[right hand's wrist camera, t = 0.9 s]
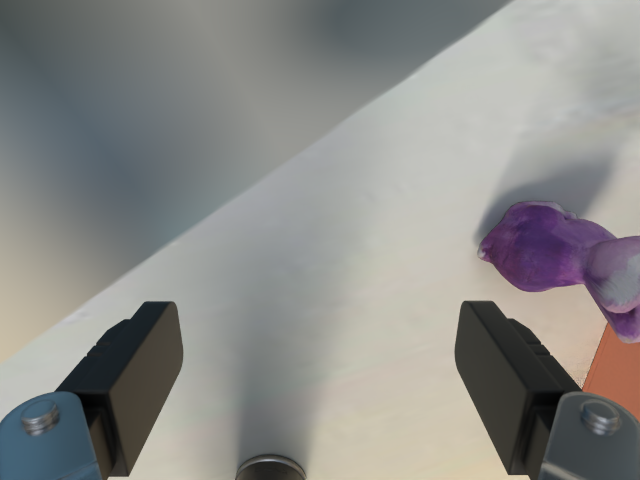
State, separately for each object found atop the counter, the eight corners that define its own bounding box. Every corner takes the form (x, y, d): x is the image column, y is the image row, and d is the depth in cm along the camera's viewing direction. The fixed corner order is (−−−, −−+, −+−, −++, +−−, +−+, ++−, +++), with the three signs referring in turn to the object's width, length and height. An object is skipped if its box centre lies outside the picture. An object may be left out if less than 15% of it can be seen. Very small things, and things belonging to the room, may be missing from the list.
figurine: (603, 215, 40) (755, 286, 26) (532, 291, 43) (633, 390, 29) (534, 165, 38) (657, 212, 24) (465, 248, 41) (538, 332, 27)
